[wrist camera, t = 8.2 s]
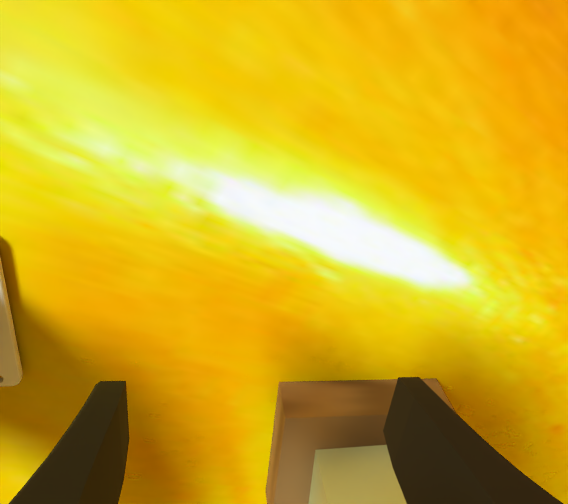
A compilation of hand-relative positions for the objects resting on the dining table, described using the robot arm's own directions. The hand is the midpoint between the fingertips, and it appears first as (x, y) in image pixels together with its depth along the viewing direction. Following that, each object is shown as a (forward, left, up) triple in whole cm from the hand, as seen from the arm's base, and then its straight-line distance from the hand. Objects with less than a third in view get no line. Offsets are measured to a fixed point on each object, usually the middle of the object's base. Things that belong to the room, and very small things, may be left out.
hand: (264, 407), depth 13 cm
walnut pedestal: (+7, -13, -10) cm, 18 cm away
